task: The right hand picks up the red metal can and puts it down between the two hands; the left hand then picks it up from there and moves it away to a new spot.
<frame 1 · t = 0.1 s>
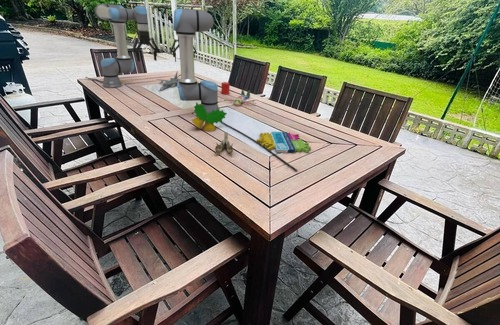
left hand: (147, 60, 204), 28 cm above the table, tool pointing down, fingers open, 13 cm apart
right hand: (184, 61, 211), 28 cm above the table, tool pointing down, fingers open, 13 cm apart
jawbone: (224, 151, 138), on the table
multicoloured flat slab: (281, 143, 152), on the table
can: (225, 93, 240), on the table
toy: (241, 101, 221), on the table
airplane: (171, 86, 252), on the table
ornament: (209, 128, 165), on the table
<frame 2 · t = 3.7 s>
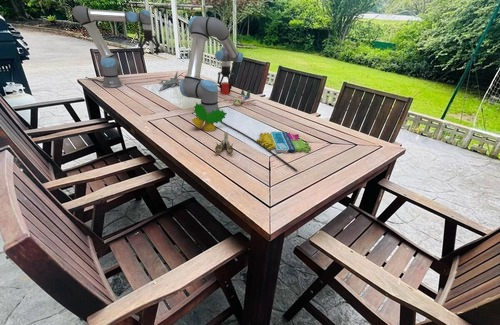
left hand: (150, 54, 247), 26 cm above the table, tool pointing down, fingers open, 13 cm apart
right hand: (225, 92, 240), 1 cm above the table, tool pointing down, fingers closed on can, 7 cm apart
can: (225, 93, 240), on the table, touching right hand
everything else where it was.
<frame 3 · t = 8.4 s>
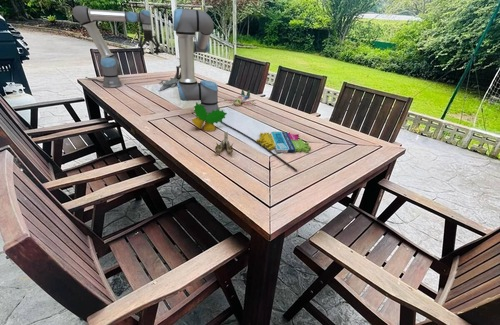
left hand: (150, 54, 247), 26 cm above the table, tool pointing down, fingers open, 13 cm apart
right hand: (185, 87, 217), 8 cm above the table, tool pointing down, fingers closed on can, 7 cm apart
can: (186, 89, 218), point 7 cm above the table, touching right hand
everything else where it was.
when the right hand's fingers open (3 cm above the table, at t = 13.1 s): can drops 2 cm, on the table.
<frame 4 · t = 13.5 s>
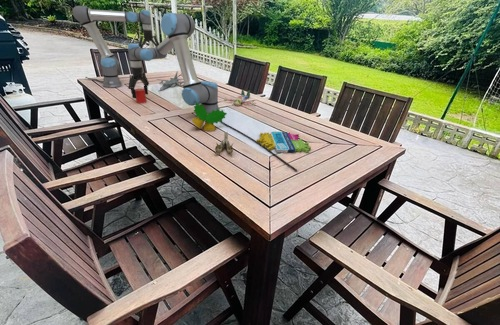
left hand: (150, 54, 247), 26 cm above the table, tool pointing down, fingers open, 13 cm apart
right hand: (140, 96, 201), 5 cm above the table, tool pointing down, fingers open, 13 cm apart
can: (141, 101, 203), on the table
everything else where it was.
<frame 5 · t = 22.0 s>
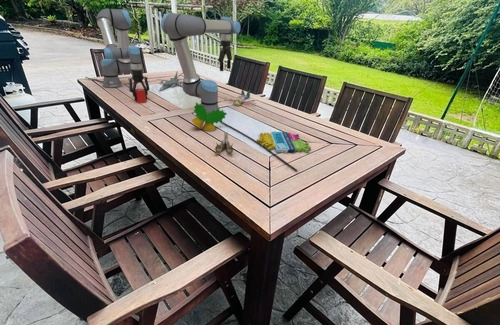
left hand: (141, 100, 202), 1 cm above the table, tool pointing down, fingers closed on can, 7 cm apart
right hand: (225, 69, 207), 25 cm above the table, tool pointing down, fingers open, 13 cm apart
can: (141, 101, 203), on the table, touching left hand
everything else where it was.
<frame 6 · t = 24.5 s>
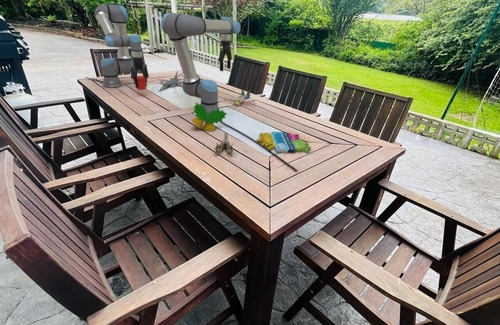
left hand: (141, 87, 212), 8 cm above the table, tool pointing down, fingers closed on can, 7 cm apart
right hand: (225, 69, 207), 25 cm above the table, tool pointing down, fingers open, 13 cm apart
can: (141, 88, 212), point 6 cm above the table, touching left hand
everything else where it was.
when the left hand's fingers open (3 cm above the table, at t = 27.0 s): can drops 2 cm, on the table.
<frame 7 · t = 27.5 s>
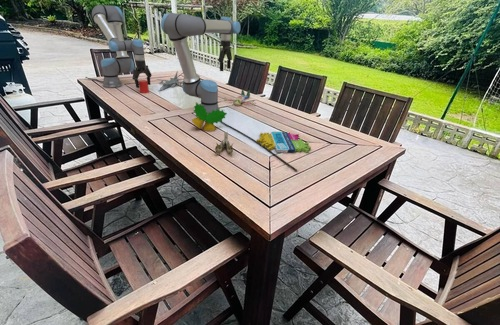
left hand: (143, 86, 225), 5 cm above the table, tool pointing down, fingers open, 13 cm apart
right hand: (225, 69, 207), 25 cm above the table, tool pointing down, fingers open, 13 cm apart
can: (144, 92, 228), on the table
everything else where it was.
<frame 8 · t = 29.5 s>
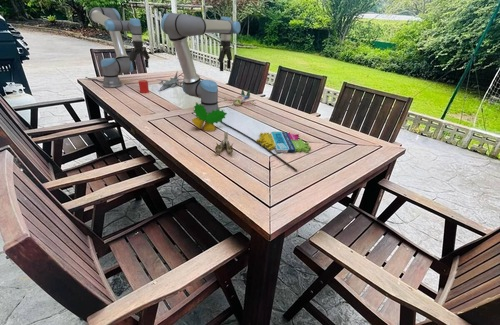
left hand: (141, 68, 218), 20 cm above the table, tool pointing down, fingers open, 13 cm apart
right hand: (225, 69, 207), 25 cm above the table, tool pointing down, fingers open, 13 cm apart
nothing on the table moved.
at the end: can inside the target area (0.1 cm from its centre), on the table; can tilted 0°; the two hands never held the can at the same time; the left hand is holding nothing; the right hand is holding nothing; can at rest at the end (0.0 cm/s) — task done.
